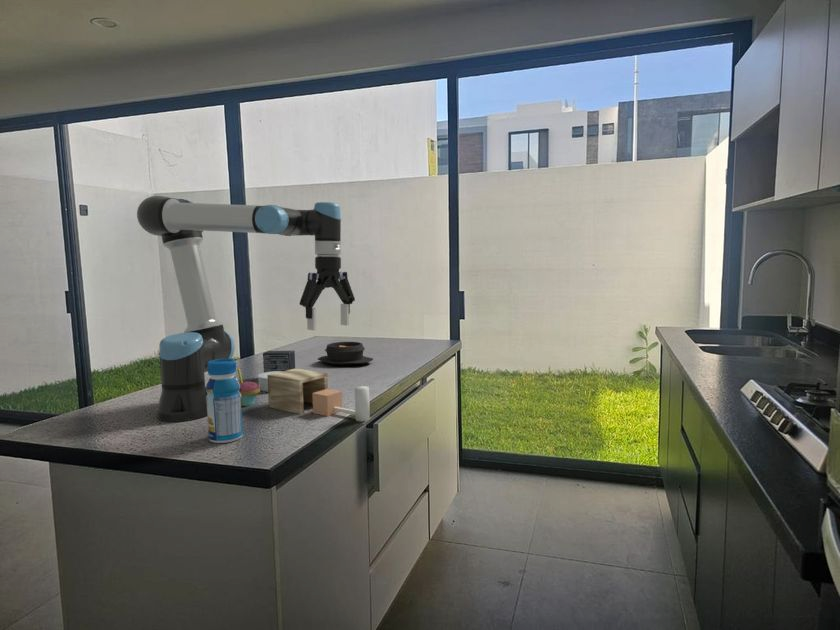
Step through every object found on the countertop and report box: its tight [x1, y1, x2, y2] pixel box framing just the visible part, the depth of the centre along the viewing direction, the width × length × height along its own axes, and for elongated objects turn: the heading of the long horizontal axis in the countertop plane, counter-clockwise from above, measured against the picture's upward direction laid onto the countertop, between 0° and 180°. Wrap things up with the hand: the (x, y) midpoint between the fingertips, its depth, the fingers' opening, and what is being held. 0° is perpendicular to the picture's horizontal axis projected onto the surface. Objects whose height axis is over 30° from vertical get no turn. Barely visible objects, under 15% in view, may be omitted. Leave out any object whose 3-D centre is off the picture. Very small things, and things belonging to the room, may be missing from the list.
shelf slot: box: [267, 367, 329, 415], centre depth 167 cm, size 11×14×10 cm
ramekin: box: [257, 371, 283, 393], centre depth 190 cm, size 11×11×5 cm
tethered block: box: [312, 385, 371, 422], centre depth 157 cm, size 6×18×9 cm, turn 55°
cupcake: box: [237, 367, 261, 407], centre depth 171 cm, size 9×8×12 cm
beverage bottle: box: [205, 358, 244, 444], centre depth 138 cm, size 8×8×20 cm
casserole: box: [317, 341, 374, 366], centre depth 234 cm, size 25×19×8 cm
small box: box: [262, 350, 296, 373], centre depth 206 cm, size 11×6×10 cm, turn 84°
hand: (328, 327), depth 163 cm, fingers open, 13 cm apart
